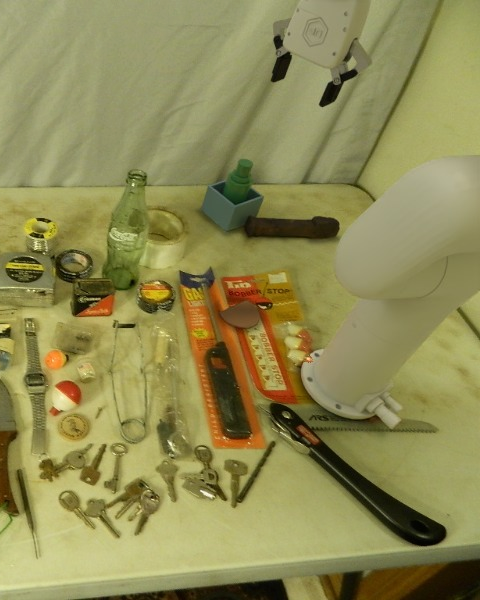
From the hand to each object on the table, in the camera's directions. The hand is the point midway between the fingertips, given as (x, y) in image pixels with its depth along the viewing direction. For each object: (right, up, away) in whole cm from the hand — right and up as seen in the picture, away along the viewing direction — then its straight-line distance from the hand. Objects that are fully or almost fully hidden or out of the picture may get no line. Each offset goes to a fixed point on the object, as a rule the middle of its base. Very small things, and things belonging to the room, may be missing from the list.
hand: (300, 92), depth 88 cm
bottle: (-6, -17, +22) cm, 28 cm away
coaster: (-9, -37, +3) cm, 38 cm away
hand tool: (+6, -21, +20) cm, 30 cm away
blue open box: (-6, -17, +22) cm, 29 cm away
